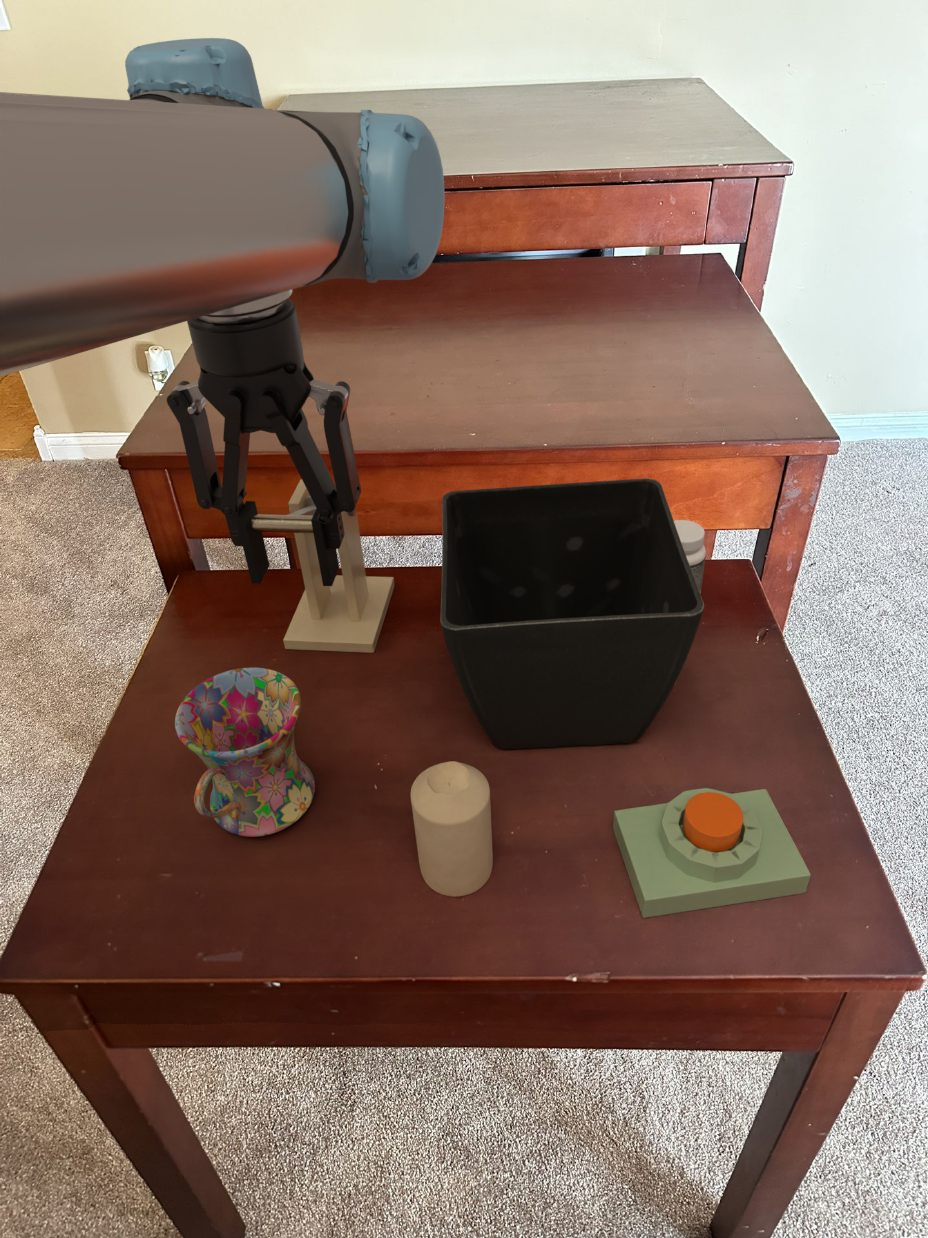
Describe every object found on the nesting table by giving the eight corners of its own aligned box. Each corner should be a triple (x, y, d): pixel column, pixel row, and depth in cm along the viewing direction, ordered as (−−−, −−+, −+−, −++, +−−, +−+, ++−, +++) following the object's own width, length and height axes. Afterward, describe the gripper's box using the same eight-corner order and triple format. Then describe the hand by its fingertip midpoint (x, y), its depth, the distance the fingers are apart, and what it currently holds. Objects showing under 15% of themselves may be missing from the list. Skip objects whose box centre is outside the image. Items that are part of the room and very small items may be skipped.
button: (693, 856, 63) (696, 840, 62) (675, 811, 66) (677, 796, 65) (748, 847, 63) (752, 832, 62) (727, 804, 66) (730, 788, 65)
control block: (642, 918, 63) (647, 885, 61) (612, 828, 69) (615, 794, 67) (805, 893, 64) (816, 859, 62) (761, 806, 70) (769, 772, 68)
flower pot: (453, 783, 74) (439, 625, 63) (452, 636, 89) (441, 488, 78) (684, 772, 73) (709, 612, 63) (644, 627, 88) (659, 477, 78)
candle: (494, 896, 65) (490, 807, 59) (419, 899, 65) (406, 810, 59) (492, 835, 69) (488, 746, 63) (421, 837, 70) (410, 749, 63)
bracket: (374, 653, 87) (355, 524, 78) (284, 649, 88) (255, 522, 79) (394, 585, 96) (379, 462, 86) (313, 583, 97) (289, 461, 88)
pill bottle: (695, 584, 93) (705, 516, 88) (703, 612, 89) (713, 543, 84) (649, 585, 93) (656, 517, 88) (655, 613, 90) (662, 544, 85)
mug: (239, 750, 78) (211, 659, 71) (338, 768, 76) (319, 676, 69) (169, 863, 69) (129, 770, 62) (279, 887, 67) (250, 794, 60)
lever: (315, 540, 73) (314, 511, 72) (250, 538, 73) (248, 509, 73) (355, 519, 85) (355, 494, 85) (299, 518, 86) (299, 493, 85)
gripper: (90, 325, 60) (176, 598, 75) (358, 324, 58) (394, 606, 72) (135, 287, 66) (207, 547, 81) (381, 284, 64) (409, 553, 78)
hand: (295, 575), depth 77 cm, fingers closed on lever, 5 cm apart
